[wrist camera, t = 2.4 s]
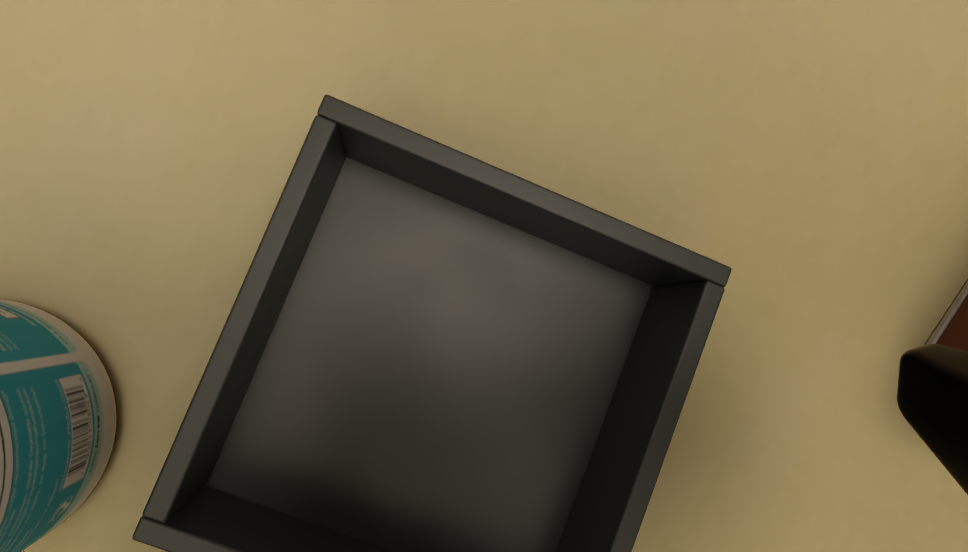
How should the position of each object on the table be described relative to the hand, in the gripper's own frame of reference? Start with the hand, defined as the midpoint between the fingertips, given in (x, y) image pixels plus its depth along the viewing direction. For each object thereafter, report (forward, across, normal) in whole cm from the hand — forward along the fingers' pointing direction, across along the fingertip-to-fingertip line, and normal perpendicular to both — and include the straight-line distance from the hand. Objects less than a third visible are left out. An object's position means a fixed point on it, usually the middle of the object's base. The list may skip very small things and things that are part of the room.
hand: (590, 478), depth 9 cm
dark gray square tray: (+12, +2, +6) cm, 14 cm away
